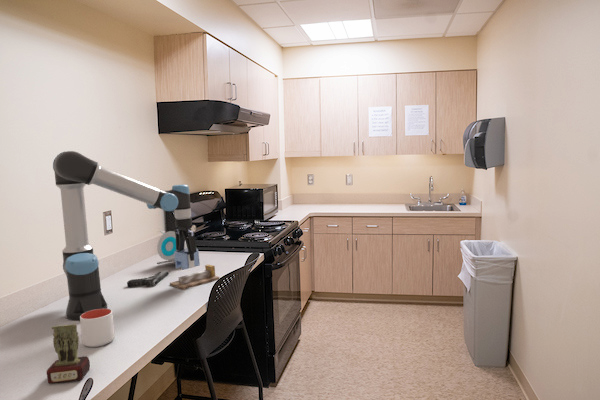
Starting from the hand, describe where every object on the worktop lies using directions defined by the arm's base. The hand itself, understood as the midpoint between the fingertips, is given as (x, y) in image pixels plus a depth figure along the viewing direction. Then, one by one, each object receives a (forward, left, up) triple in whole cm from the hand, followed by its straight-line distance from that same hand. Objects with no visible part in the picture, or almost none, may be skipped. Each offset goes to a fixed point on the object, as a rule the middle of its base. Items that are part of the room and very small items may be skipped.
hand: (187, 266), depth 221 cm
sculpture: (-73, -52, -9) cm, 90 cm away
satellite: (+18, +39, -9) cm, 44 cm away
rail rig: (+3, 0, -9) cm, 9 cm away
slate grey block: (0, 0, 0) cm, 0 cm away
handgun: (-9, +21, -9) cm, 25 cm away
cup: (-57, -34, -9) cm, 67 cm away
